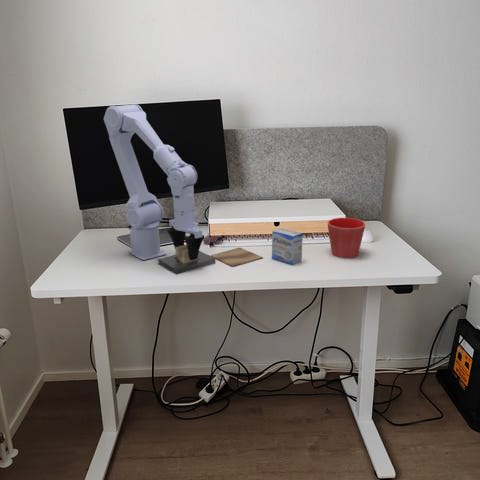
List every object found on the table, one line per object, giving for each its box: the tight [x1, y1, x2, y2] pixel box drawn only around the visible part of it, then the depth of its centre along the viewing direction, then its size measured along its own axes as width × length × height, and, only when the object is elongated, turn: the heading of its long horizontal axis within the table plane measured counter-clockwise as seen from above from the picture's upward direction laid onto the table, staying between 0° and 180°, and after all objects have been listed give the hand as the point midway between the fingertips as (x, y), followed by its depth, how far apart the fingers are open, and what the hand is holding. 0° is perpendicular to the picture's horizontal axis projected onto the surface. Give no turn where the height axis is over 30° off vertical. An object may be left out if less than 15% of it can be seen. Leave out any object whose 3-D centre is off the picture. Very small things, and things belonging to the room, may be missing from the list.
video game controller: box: [202, 234, 222, 245], centre depth 165 cm, size 10×5×7 cm, turn 169°
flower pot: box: [327, 217, 366, 259], centre depth 150 cm, size 11×11×10 cm
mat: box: [210, 247, 264, 268], centre depth 150 cm, size 11×11×1 cm
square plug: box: [174, 244, 198, 264], centre depth 145 cm, size 4×4×5 cm
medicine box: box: [271, 228, 304, 266], centre depth 146 cm, size 8×4×9 cm, turn 47°
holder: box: [157, 250, 217, 275], centre depth 146 cm, size 10×13×2 cm
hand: (186, 255), depth 145 cm, fingers open, 7 cm apart
